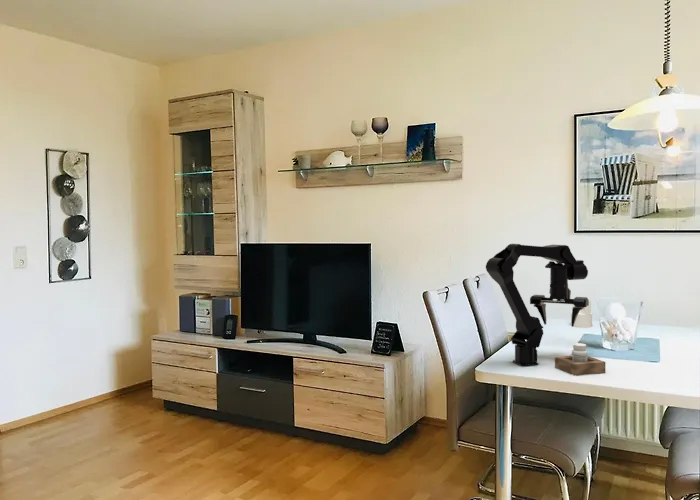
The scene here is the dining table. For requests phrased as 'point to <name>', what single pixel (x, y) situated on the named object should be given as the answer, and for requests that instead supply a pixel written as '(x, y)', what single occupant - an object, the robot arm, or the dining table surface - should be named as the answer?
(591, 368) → the socket block
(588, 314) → the base with upright slab
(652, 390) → the dining table surface
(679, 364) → the dining table surface
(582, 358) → the pill bottle
